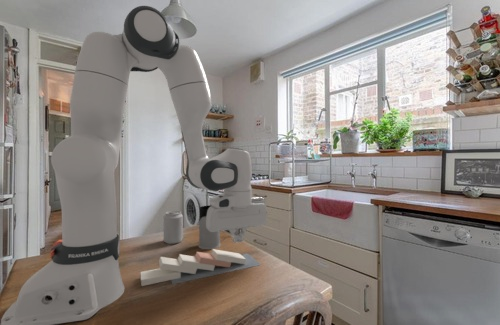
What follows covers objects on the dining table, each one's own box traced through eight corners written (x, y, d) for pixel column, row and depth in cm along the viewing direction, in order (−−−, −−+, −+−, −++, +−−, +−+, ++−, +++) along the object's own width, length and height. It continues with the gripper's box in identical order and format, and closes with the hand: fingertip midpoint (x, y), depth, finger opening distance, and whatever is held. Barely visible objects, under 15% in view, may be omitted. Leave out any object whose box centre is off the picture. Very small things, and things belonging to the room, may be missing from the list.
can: (165, 238, 101) (165, 210, 101) (183, 237, 102) (183, 209, 102) (161, 245, 94) (161, 214, 94) (182, 244, 95) (181, 213, 95)
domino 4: (229, 267, 74) (199, 263, 70) (224, 261, 79) (194, 256, 74) (231, 262, 74) (201, 257, 70) (225, 256, 79) (196, 251, 74)
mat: (172, 285, 64) (172, 284, 64) (167, 269, 73) (167, 268, 73) (261, 265, 76) (261, 264, 76) (247, 254, 85) (247, 253, 85)
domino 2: (195, 274, 70) (160, 269, 65) (191, 267, 74) (158, 262, 70) (197, 268, 70) (162, 263, 66) (193, 261, 74) (160, 256, 70)
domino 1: (180, 277, 68) (141, 286, 63) (177, 270, 72) (140, 277, 68) (180, 272, 68) (141, 280, 63) (177, 265, 72) (140, 271, 68)
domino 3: (213, 270, 72) (180, 266, 68) (208, 264, 76) (177, 259, 72) (215, 265, 72) (182, 260, 68) (210, 259, 77) (179, 254, 72)
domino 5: (244, 264, 76) (216, 259, 72) (238, 258, 81) (210, 253, 77) (246, 259, 77) (217, 254, 72) (239, 253, 81) (212, 248, 77)
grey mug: (195, 250, 89) (195, 209, 89) (203, 237, 103) (203, 202, 103) (219, 250, 89) (219, 209, 88) (224, 237, 103) (224, 202, 102)
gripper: (261, 195, 85) (261, 234, 85) (204, 199, 76) (204, 243, 76) (270, 198, 79) (270, 240, 80) (210, 202, 70) (210, 250, 71)
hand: (237, 241), depth 78 cm, fingers closed
